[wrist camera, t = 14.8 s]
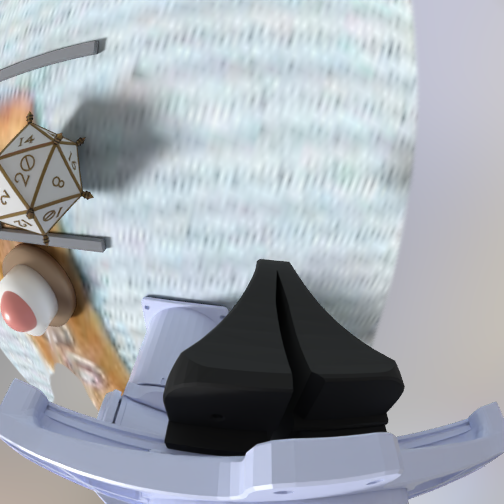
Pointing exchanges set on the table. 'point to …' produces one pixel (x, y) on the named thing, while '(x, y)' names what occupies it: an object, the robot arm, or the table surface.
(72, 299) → the dome base
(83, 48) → the frame
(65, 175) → the game die
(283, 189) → the table surface
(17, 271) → the dome
